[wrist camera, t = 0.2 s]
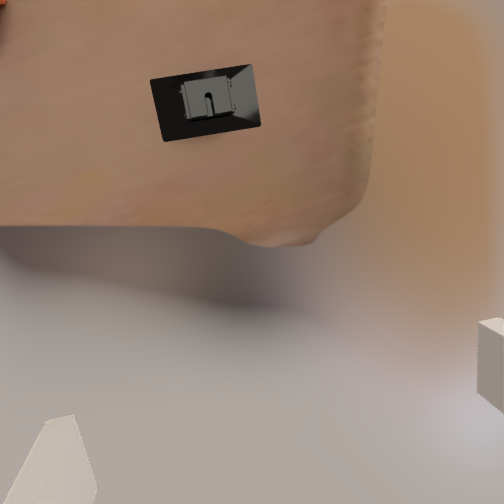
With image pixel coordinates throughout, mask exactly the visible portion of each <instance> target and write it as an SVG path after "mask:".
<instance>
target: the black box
mask: <svg viewBox="0 0 504 504" xmlns="http://www.w3.org/2000/svg"><path fill="white" fill-rule="evenodd" d="M150 85H151V89H152V94H153V98H154V103H155V107H156V111H157V116H158V120H159V125H160V129H161V134H162V138H163V141H164V142H168V141H174V140H180V139H186V138H192V137H198V136H205V135H211V134H217V133H223V132H229V131H235V130H241V129H248V128H254V127H260V126H261V121H260V114H259V108H258V101H257V94H256V87H255V80H254V74H253V67H252V65H251V64H248V65H241V66H235V67H228V68H222V69H215V70H209V71H202V72H196V73H190V74H183V75H177V76H170V77H164V78H157V79H151V80H150Z"/></svg>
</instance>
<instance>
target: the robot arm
mask: <svg viewBox="0 0 504 504" xmlns="http://www.w3.org/2000/svg"><path fill="white" fill-rule="evenodd" d="M477 365H478V366H477V369H478V370H477V392H478V393H479V394H480V395H481V396H482V397H484V398H485V399H486V400H487V401H489V402H490V403H491V404H492V405H493V406H495V407H496V408H497V409H498V410H500V411H501V412H502V413H503V414H504V320H503V319H501V318H498V317H497V318H493V319H489V320H485V321H480V322H478V364H477ZM96 492H97V485H96V482H95V478H94V475H93V472H92V469H91V466H90V463H89V460H88V456H87V454H86V450H85V447H84V444H83V441H82V438H81V435H80V431H79V429H78V425H77V422H76V419H75V416H74V414H71V415H66V416H62V417H58V418H53V419H49V420H46V422H45V424H44V426H43V428H42V430H41V432H40V434H39V436H38V438H37V439H36V441H35V443H34V445H33V447H32V449H31V451H30V453H29V455H28V457H27V459H26V461H25V462H24V464H23V466H22V468H21V470H20V472H19V474H18V476H17V478H16V480H15V482H14V484H13V486H12V487H11V489H10V491H9V493H8V495H7V497H6V499H5V501H4V503H3V504H93V503H94V500H95V496H96Z"/></svg>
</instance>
